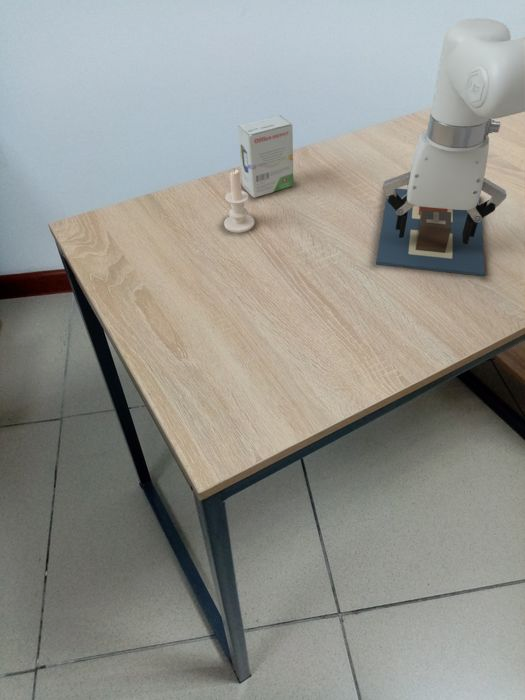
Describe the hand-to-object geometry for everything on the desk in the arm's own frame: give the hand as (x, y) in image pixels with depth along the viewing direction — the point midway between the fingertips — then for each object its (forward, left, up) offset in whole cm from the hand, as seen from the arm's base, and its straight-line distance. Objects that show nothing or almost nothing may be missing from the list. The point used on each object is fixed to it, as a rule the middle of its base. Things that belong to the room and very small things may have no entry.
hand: (432, 236), depth 83 cm
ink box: (+30, -14, -2) cm, 33 cm away
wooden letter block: (0, 0, -1) cm, 2 cm away
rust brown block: (0, -10, -1) cm, 10 cm away
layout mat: (0, -5, -2) cm, 6 cm away
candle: (+32, -1, -2) cm, 32 cm away
